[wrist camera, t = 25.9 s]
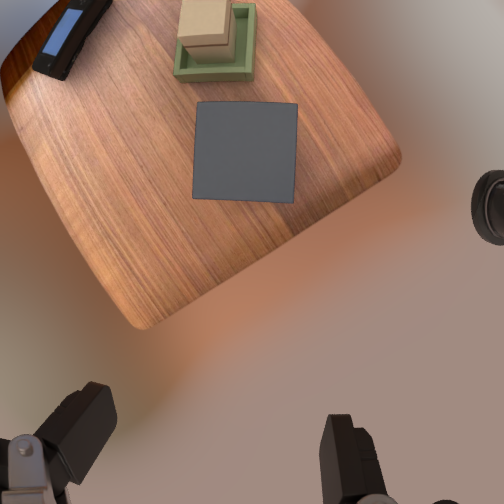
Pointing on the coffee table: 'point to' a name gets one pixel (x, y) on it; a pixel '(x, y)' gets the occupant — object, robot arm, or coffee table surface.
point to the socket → (213, 72)
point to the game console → (69, 37)
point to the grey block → (245, 151)
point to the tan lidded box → (208, 30)
